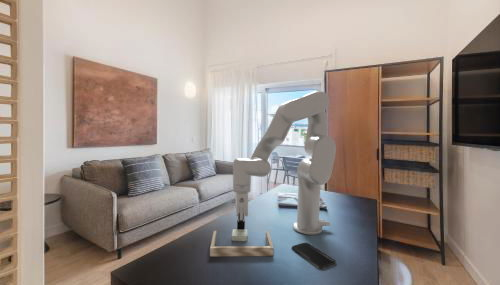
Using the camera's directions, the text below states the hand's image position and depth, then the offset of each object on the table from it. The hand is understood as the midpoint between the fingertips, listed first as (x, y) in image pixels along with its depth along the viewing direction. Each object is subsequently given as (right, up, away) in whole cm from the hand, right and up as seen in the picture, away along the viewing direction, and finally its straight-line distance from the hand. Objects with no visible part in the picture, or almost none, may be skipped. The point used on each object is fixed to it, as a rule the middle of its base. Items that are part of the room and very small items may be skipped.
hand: (240, 229), depth 100 cm
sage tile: (0, -2, -4) cm, 5 cm away
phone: (+26, -3, -17) cm, 31 cm away
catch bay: (+1, -2, -11) cm, 12 cm away
